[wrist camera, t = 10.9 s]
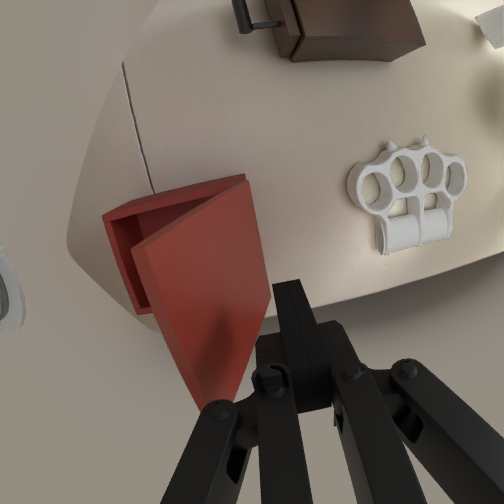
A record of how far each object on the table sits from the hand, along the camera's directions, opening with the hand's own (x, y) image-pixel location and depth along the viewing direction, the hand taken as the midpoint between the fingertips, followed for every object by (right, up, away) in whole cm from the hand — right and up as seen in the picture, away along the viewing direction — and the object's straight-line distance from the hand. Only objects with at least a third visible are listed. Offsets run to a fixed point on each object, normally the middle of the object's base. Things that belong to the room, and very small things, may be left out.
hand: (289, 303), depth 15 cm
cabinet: (+8, +31, +9) cm, 34 cm away
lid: (-4, +1, +4) cm, 5 cm away
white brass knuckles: (+19, +11, +17) cm, 28 cm away
